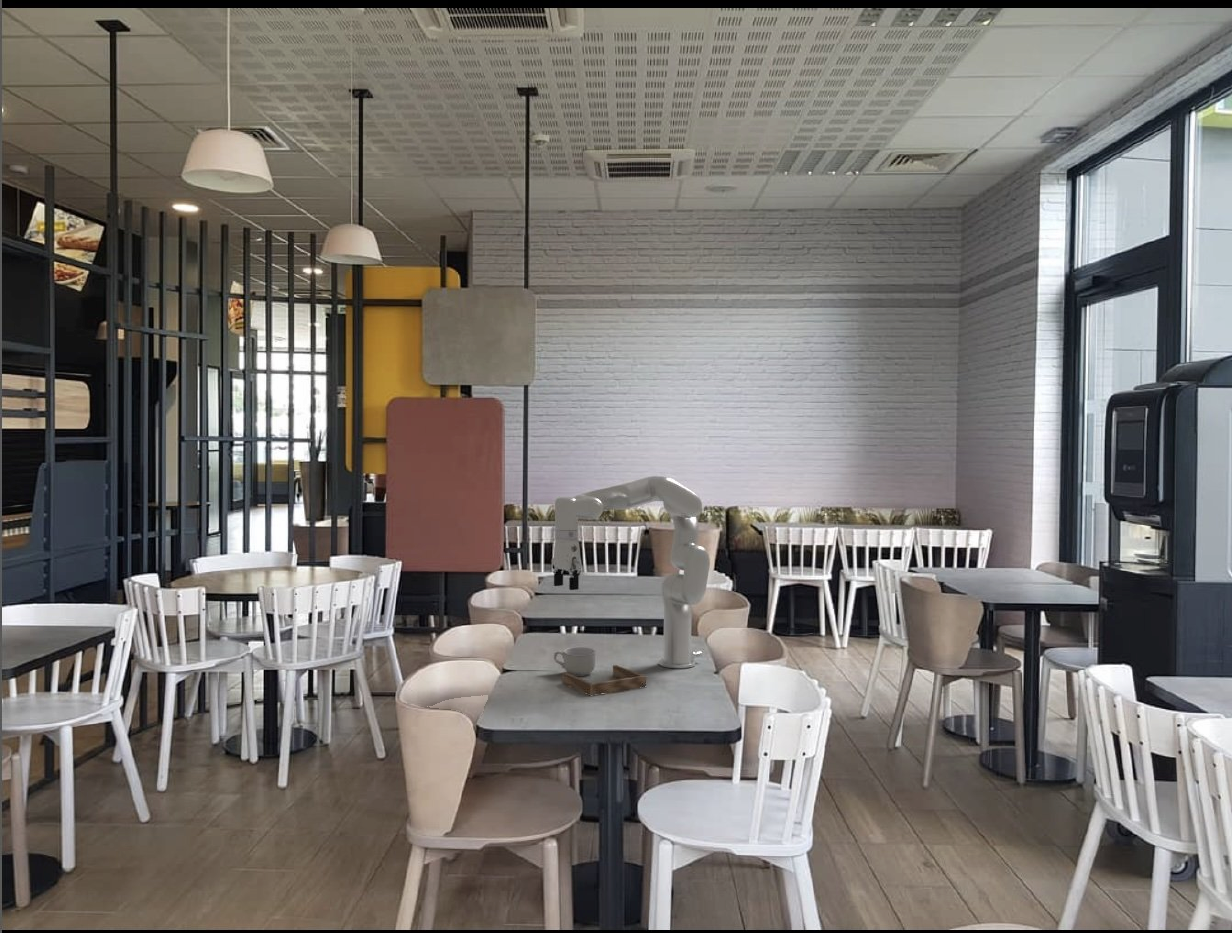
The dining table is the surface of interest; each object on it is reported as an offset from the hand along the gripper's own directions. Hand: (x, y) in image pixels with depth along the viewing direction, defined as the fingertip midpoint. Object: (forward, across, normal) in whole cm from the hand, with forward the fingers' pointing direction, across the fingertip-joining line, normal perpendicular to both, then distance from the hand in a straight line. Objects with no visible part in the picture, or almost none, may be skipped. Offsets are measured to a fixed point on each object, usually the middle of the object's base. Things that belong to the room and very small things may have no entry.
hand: (566, 587), depth 317 cm
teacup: (+30, +4, -6) cm, 31 cm away
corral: (+30, -14, -6) cm, 33 cm away
